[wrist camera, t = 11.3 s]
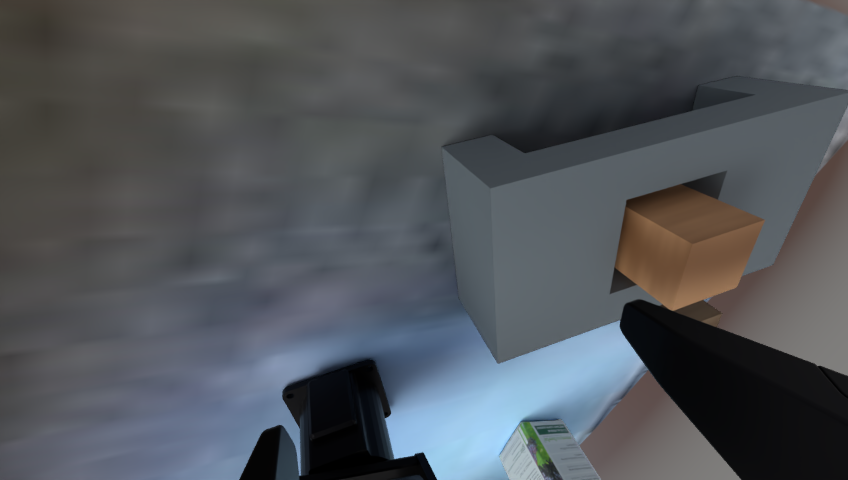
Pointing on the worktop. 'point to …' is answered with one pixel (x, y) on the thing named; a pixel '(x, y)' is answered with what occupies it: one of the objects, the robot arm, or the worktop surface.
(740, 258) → the long pin
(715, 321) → the short pin
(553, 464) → the syrup box
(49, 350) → the worktop surface
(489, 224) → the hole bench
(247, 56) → the worktop surface
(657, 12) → the worktop surface
